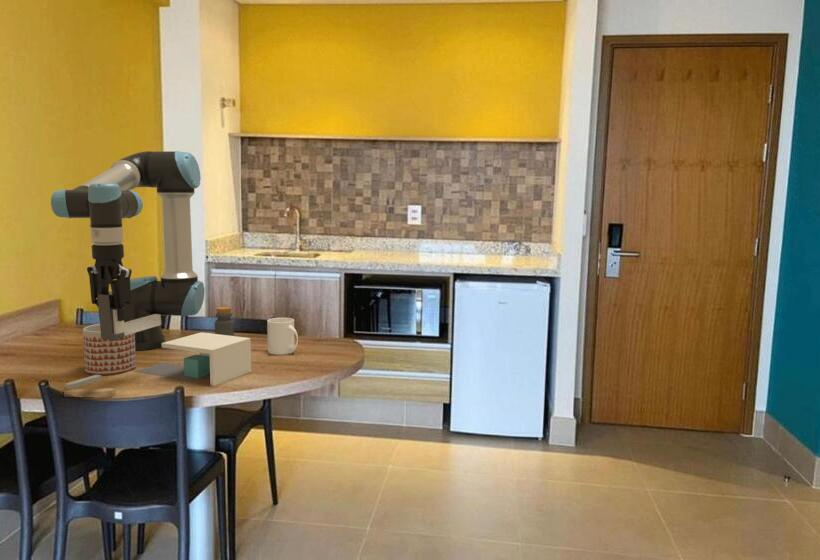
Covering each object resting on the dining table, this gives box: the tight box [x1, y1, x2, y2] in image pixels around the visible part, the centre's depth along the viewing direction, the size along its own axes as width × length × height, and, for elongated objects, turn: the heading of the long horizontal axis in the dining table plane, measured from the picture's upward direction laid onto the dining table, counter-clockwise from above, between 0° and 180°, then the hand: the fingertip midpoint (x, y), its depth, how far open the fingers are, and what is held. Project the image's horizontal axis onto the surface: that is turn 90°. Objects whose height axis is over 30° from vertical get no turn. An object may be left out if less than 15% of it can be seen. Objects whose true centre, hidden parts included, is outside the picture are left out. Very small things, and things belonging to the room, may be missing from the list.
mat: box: [133, 362, 210, 382], centre depth 191 cm, size 22×11×1 cm, turn 66°
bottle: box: [214, 306, 235, 336], centre depth 213 cm, size 6×6×15 cm
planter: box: [82, 323, 137, 376], centre depth 193 cm, size 14×14×13 cm
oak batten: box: [62, 388, 116, 399], centre depth 168 cm, size 12×2×2 cm, turn 94°
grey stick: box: [64, 375, 103, 390], centre depth 179 cm, size 2×10×2 cm, turn 156°
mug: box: [266, 317, 299, 356], centre depth 215 cm, size 9×12×11 cm
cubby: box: [161, 331, 252, 387], centre depth 187 cm, size 18×16×10 cm
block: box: [183, 354, 210, 378], centre depth 187 cm, size 5×5×5 cm
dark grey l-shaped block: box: [98, 290, 162, 341], centre depth 179 cm, size 4×18×12 cm, turn 156°
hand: (112, 331), depth 174 cm, fingers closed on dark grey l-shaped block, 4 cm apart
